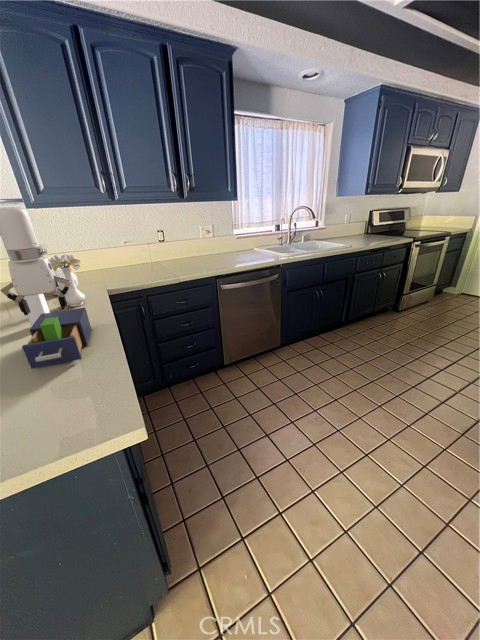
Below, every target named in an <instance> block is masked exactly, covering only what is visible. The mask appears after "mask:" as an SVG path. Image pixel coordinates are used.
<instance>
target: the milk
mask: <svg viewBox="0 0 480 640" xmlns="http://www.w3.org/2000/svg"><path fill="white" fill-rule="evenodd" d="M44 294H45V293H44ZM44 294H36V295H28V296H25V297H24V298H23V299H24V300H26V301H27V304H28V307H29V309H30V313H29V314H28V315H26V317H27V318H28V320H29V323H30V326H31V327H32V326H33V324H34V323H35V321H36V320H37V319H38V317H39V316H40V315H41V314H44V313H51V312H50V308H49V305H48V303H47V300H46V298H45V295H44Z"/></svg>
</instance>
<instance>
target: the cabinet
mask: <svg viewBox="0 0 480 640" xmlns="http://www.w3.org/2000/svg"><path fill="white" fill-rule="evenodd" d="M53 317H58V320H59V323H60V326H61V327H63V326H69V325H75V324H78V325H79V328H80V332H81V335H82V338H83V344H82V347H81V348H84V347H88V345H89V341H90V337H91V333H92V330H93V329H92V326H91V322H90V318H89V316H88V312H87V309H86V307H79V308H73V309H71V308H70V309H64V310H57V311H51V312H50V313H44V314H41V315H40V316H39V317H38V319H37V320H36V321H35V323H34V324H33V326H31V327H30V328H29V333H30V335H31V337H32V336H33V335H34V333H35V332H36V331H38V330H41V327H40V325H41V324H42V322H43V321H44V319H46V318H53Z"/></svg>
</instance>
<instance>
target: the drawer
mask: <svg viewBox="0 0 480 640" xmlns="http://www.w3.org/2000/svg"><path fill="white" fill-rule="evenodd" d="M61 329H62V332H63V335H64V338H61V339H55V340H49V341H45V338H44V335H43V333H42V330H38V331H36V332H35V333H34V335H33V336H32V335H31V338H30V339H29V341H28V342H27V344H23V345H22V346H21V348H22V351H23V353H24V355H25V357H26V360H27V362H28V364H29V367H30V369H31V370H34V369H39V368H43V367H44V368H45V367H49V366H54V365H58V364H64V363H69V362H73V361H78V360H79V361H80V360H82V355H81V350H82V348H83V347H82V344H83V338H82V335H81V332H80V328H79V325H78V324H75V325H69V326H63V327H61Z"/></svg>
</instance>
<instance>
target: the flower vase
mask: <svg viewBox="0 0 480 640" xmlns="http://www.w3.org/2000/svg"><path fill="white" fill-rule="evenodd" d="M48 260H49V262H50V264H51V266H52V268H53V270H54V272H55V271H56V270H57V268H60V269H61V270H62V272H63V273H64V276H65V279H67V280H70V281H71V283H70V287H69V289H68V291H67V292H66V294H65V298H66V301H67V305H69V306H70V307H73V308H75V307H81V306H82V305H84V302H85V301H86V299H87V298H86V295H85V294H84V293H83V292H82V291H81V290H79V289H78V288H77V287H76V286H75V284H74V281H73V278H72V274H71V272H72V269H74V270H77V271H80V267H81V265H80V263H81V260H80V259H77V258H75V257H74V256H73V254H69V255H68V254H62V255H61V256H59V255H58V254H57V255H55V254H54V255H53V257H50V256H48Z"/></svg>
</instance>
